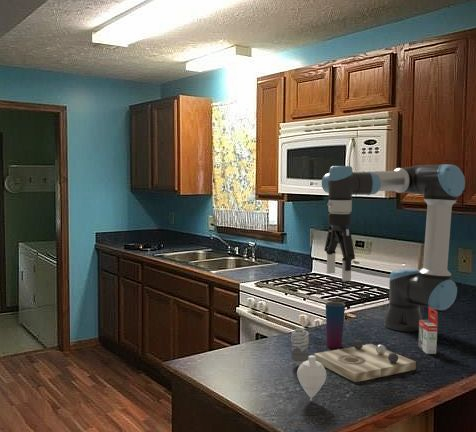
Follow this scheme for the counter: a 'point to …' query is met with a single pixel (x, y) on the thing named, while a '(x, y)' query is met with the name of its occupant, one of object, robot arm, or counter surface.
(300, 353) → the light bulb
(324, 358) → the board
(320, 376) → the spinning top
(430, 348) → the ink box
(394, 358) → the black rubber ball
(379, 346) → the steel ball
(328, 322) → the cup
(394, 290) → the robot arm
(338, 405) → the counter surface
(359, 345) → the black rubber ball
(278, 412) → the counter surface
